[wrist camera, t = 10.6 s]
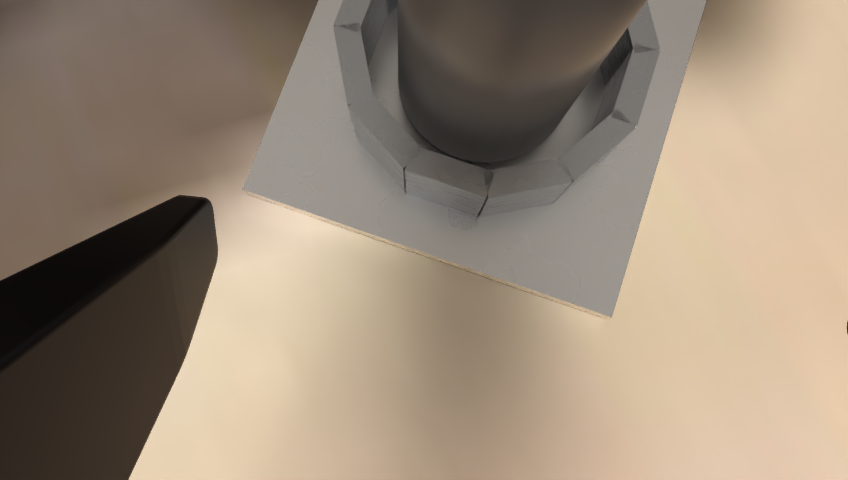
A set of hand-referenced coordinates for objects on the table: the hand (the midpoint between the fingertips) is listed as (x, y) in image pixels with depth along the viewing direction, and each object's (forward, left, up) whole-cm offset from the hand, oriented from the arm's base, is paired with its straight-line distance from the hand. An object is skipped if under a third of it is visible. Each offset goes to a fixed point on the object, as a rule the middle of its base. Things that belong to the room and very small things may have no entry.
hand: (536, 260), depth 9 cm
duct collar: (+4, +7, -14) cm, 16 cm away
